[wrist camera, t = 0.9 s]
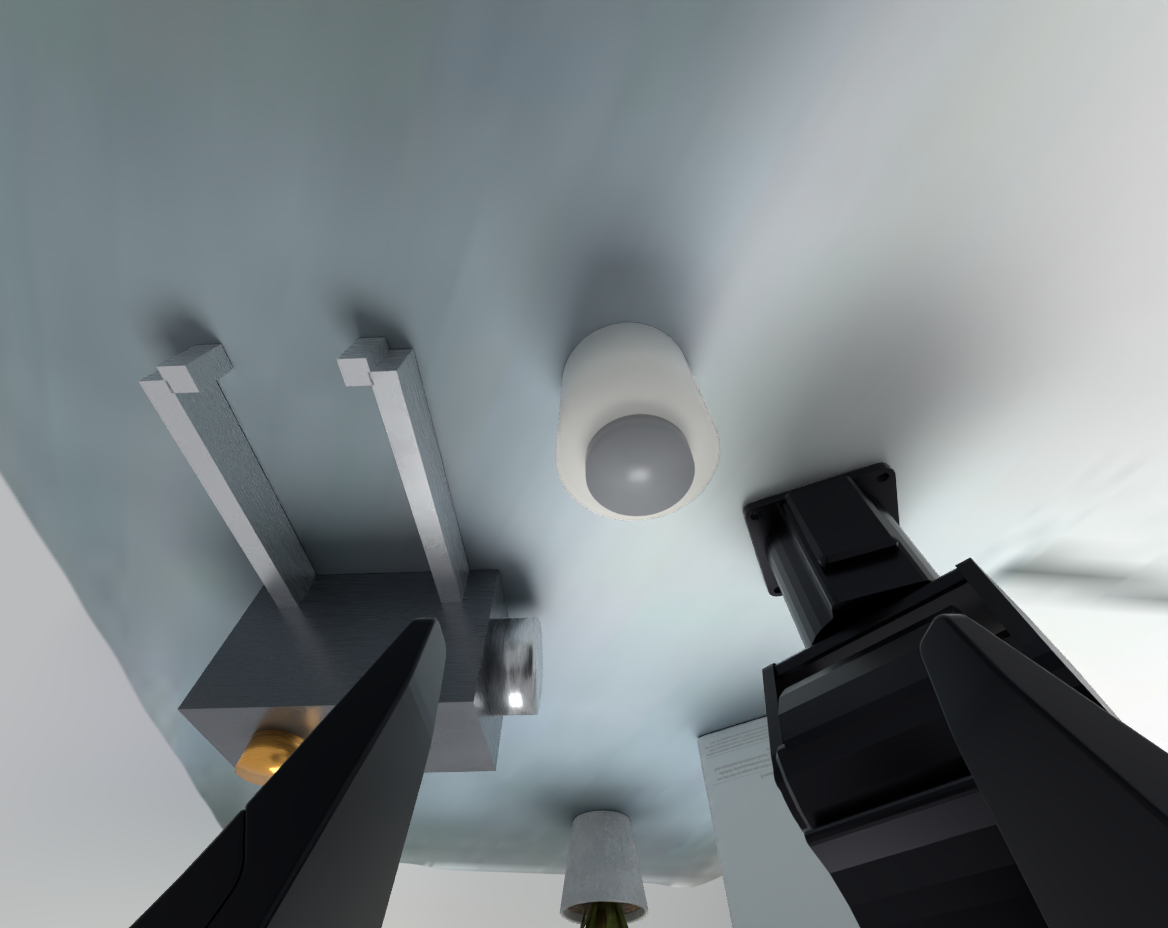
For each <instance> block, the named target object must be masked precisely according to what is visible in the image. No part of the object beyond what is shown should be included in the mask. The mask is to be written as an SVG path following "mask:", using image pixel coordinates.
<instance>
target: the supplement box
mask: <svg viewBox="0 0 1168 928" xmlns="http://www.w3.org/2000/svg"><path fill="white" fill-rule="evenodd" d="M697 743H698V749H699V754H700V759H701V765H702V770H703V776H704V781H705V786H706V791H707V796H708V801H709V807H710V812H711V817H712V823H713V828H714V833H715V838H716V844H717V849H718V854H719V859H720V864H721V869H722V875H723V880H724V885H725V890H726V896H727V900H728V906H729V911H730V917H731V922H732V927H733V928H860V927H859V925H858V923H857V921H856V919H855V917H854V915H853V913H852V911H851V909H850V907H849V905H848V904H847V902H846V900H845V899H844V897H843V895H842V894H841V892H840V890H839V889H838V887H837V885H836V884H835V882H834V880H833V879H832V877H831V875H830V874H829V872H828V871H827V869H826V868H825V867H824V865H823V864H822V863H821V861H820V860H819V859H818V857H817V856H816V855H815V853H814V852H813V851H812V849H811V848H810V847H809V845H808V844H807V842H806V839H805V836H804V833H803V831H802V830H801V829H800V827H799V825H798V824H797V822H796V821H795V819H794V817H793V816H792V814H791V812H790V810H789V808H788V806H787V804H786V802H785V800H784V798H783V796H782V793H781V791H780V790H779V788H778V787H777V785H776V783H775V780H774V774H773V765H772V760H771V753H770V743H769V733H768V723H767V717H763V718H760V719H757V720H753V721H750V722H747V723H743V724H740V725H736V726H733V727H730V728H727V729H724V730H721V731H718V732H714V733H710V734H707V735H705V736H702V737H699V738H698V740H697Z"/></svg>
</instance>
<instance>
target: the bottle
mask: <svg viewBox="0 0 1168 928" xmlns="http://www.w3.org/2000/svg"><path fill="white" fill-rule="evenodd" d="M719 454H720V443H719V437H718V433H717V430H716V428H715V425H714V423H713V420H712V418H711V416H710V414H709V411H708V409H707V407H706V404H705V402H704V400H703V398H702V395H701V393H700V391H699V388H698V386H697V384H696V382H695V379H694V377H693V375H692V372H691V370H690V368H689V366H688V363H687V361H686V359H685V356H684V354H683V352H682V351H681V349H680V348H679V346H678V345H677V344H676V343H675V341H674V340H673V339H671V338H670V337H669V336H668V335H667V334H665V333H664V332H662V331H660V330H658V329H656V328H654V327H652V326H648V325H645V324H640V323H629V322H627V323H617V324H612V325H608V326H605V327H603V328H600V329H598V330H596V331H594V332H592V333H591V334H589V335H588V336H587V337H585V338H584V339H583V340H582V341H581V342H580V343H579V344H578V345H577V346H576V347H575V348H574V350H573V351H572V353H571V354H570V356H569V358H568V360H567V362H566V364H565V367H564V370H563V376H562V387H561V399H560V412H559V424H558V437H557V450H556V463H557V470H558V473H559V477H560V479H561V481H562V483H563V485H564V487H565V488H566V490H567V491H568V493H569V494H570V495H571V496H572V497H573V498H574V499H575V500H576V501H577V502H578V503H580V504H581V505H582V506H584V507H585V508H587V509H588V510H590V511H592V512H594V513H596V514H599V515H602V516H605V517H608V518H612V519H618V520H627V521H638V520H648V519H654V518H658V517H661V516H664V515H667V514H670V513H672V512H674V511H676V510H678V509H681V508H682V507H684V506H685V505H687V504H689V503H690V502H691V501H692V500H694V499H695V498H696V497H697V496H698V495H699V494H700V493H701V492H702V491H703V490H704V489H705V488H706V486H707V485H708V484H709V482H710V480H711V479H712V477H713V475H714V473H715V470H716V468H717V465H718V461H719Z"/></svg>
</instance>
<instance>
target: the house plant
mask: <svg viewBox="0 0 1168 928" xmlns="http://www.w3.org/2000/svg"><path fill="white" fill-rule="evenodd" d="M560 914H561V916H562V917H563V918H564V919H565V920H568V921H570V922H573V923H577V924H581V927H580V928H584V927H585V925H586V927H585V928H628V925H627V924H629V923H633V922H636V921H639V920H641V919H643V918H645V917H646V916H647V915H648V907H647V902H646V897H645V892H644V887H643V882H642V877H641V872H640V867H639V862H638V857H637V852H636V848H635V843H634V838H633V833H632V828H631V823H630V819H629V818H628V817H627V816H625V815H624V814H621V813H618V812H614V811H591V812H587V813H583V814H581V815H579V816H577V817H576V818H575V819H574V821H573V826H572V833H571V840H570V846H569V853H568V860H567V867H566V874H565V881H564V888H563V895H562V901H561V909H560Z"/></svg>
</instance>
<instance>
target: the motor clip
mask: <svg viewBox="0 0 1168 928" xmlns="http://www.w3.org/2000/svg"><path fill="white" fill-rule="evenodd" d="M337 362H338V365H339V368H340V370H341V373H342V376H343V379H344V382H345V385H346V386H367V385H372V388H373V391H374V394H375V397H376V400H377V404H378V407H379V410H380V413H381V416H382V419H383V422H384V425H385V429H386V432H387V435H388V438H389V441H390V444H391V447H392V450H393V454H394V457H395V460H396V463H397V466H398V469H399V472H400V475H401V479H402V482H403V485H404V488H405V491H406V494H407V497H408V500H409V504H410V507H411V510H412V513H413V516H414V519H415V522H416V525H417V529H418V532H419V535H420V538H421V541H422V544H423V547H424V550H425V553H426V557H427V560H428V563H429V566H430V569H431V572H410V573H379V574H347V575H316V573H315V571H314V569H313V567H312V565H311V563H310V561H309V559H308V557H307V555H306V554H305V552H304V550H303V548H302V546H301V544H300V542H299V540H298V538H297V536H296V534H295V532H294V530H293V528H292V526H291V525H290V523H289V521H288V519H287V517H286V515H285V513H284V511H283V509H282V507H281V505H280V503H279V501H278V499H277V498H276V496H275V494H274V492H273V490H272V488H271V486H270V484H269V482H268V480H267V478H266V476H265V474H264V472H263V470H262V469H261V467H260V465H259V463H258V461H257V459H256V457H255V455H254V453H253V451H252V449H251V447H250V445H249V443H248V442H247V440H246V438H245V436H244V434H243V432H242V430H241V428H240V426H239V424H238V422H237V420H236V418H235V416H234V414H233V413H232V411H231V409H230V407H229V405H228V403H227V401H226V399H225V397H224V395H223V393H222V391H221V389H220V387H219V386H218V384H217V382H216V381H217V380H218V379H219V378H221V377H222V376H224V375H225V374H227V373H228V372H230V371H231V370H232V369H233V367H232V365H231V363H230V361H229V359H228V357H227V355H226V353H225V351H224V349H223V347H222V345H221V344H207V345H194V346H192V347H190V348H189V349H187V350H185V351H183V352H182V353H180V354H178V355H176V356H174V357H173V358H171V359H169V360H167V361H165V362H164V363H162V364H160V365H158V366H157V369H158V370H157V371H156V372H154V373H152V374H150V375H149V376H147V377H145V378H143V379H142V380H140V381H139V383H140V384H141V386H142V388H143V389H144V391H145V393H146V394H147V396H148V397H149V399H150V401H151V402H152V404H153V406H154V407H155V409H156V410H157V412H158V414H159V415H160V417H161V418H162V420H163V422H164V423H165V425H166V427H167V428H168V430H169V431H170V433H171V435H172V436H173V438H174V440H175V441H176V443H177V444H178V446H179V448H180V449H181V451H182V452H183V454H184V456H185V457H186V459H187V461H188V462H189V464H190V465H191V467H192V469H193V470H194V472H195V474H196V475H197V477H198V478H199V480H200V482H201V483H202V485H203V486H204V488H205V490H206V491H207V493H208V495H209V496H210V498H211V499H212V501H213V503H214V504H215V506H216V508H217V509H218V511H219V512H220V514H221V516H222V517H223V519H224V520H225V522H226V524H227V525H228V527H229V529H230V530H231V532H232V533H233V535H234V537H235V538H236V540H237V542H238V543H239V545H240V546H241V548H242V550H243V551H244V553H245V554H246V556H247V558H248V559H249V561H250V563H251V564H252V566H253V567H254V569H255V571H256V572H257V574H258V576H259V577H260V579H261V580H262V582H263V584H264V586H263V587H262V589H261V590H260V591H259V593H258V594H257V596H256V597H255V599H254V600H253V602H252V603H251V604H250V606H249V607H248V609H247V610H246V612H245V613H244V614H243V616H242V617H241V619H240V620H239V622H238V623H237V625H236V626H235V627H234V629H233V630H232V632H231V633H230V635H229V636H228V637H227V639H226V640H225V642H224V643H223V645H222V646H221V648H220V649H219V650H218V652H217V653H216V655H215V656H214V658H213V659H212V661H211V662H210V663H209V665H208V666H207V668H206V669H205V671H204V672H203V673H202V675H201V676H200V678H199V679H198V681H197V682H196V684H195V685H194V686H193V688H192V689H191V691H190V692H189V694H188V695H187V696H186V698H185V699H184V701H183V702H182V704H181V705H180V707H179V708H178V710H179V711H180V712H181V713H182V714H183V715H184V716H185V717H186V718H187V719H188V721H189V722H190V723H191V724H192V725H193V726H194V727H195V728H196V729H197V730H198V731H199V732H200V733H201V734H202V735H203V736H204V737H205V738H206V739H207V740H208V741H209V742H210V743H211V744H212V745H213V746H214V747H215V748H216V749H217V750H218V751H219V752H220V753H221V754H222V755H223V756H224V757H225V758H226V759H227V760H228V761H229V762H230V763H231V764H232V765H233V766H234V767H235V772H236V774H237V775H238V776H240V777H241V778H243V779H244V780H246V781H249V782H251V783H254V784H258V785H262V786H263V785H264V784H265V783H266V782H267V781H268V780H269V779H270V778H271V777H272V775H273V774H274V773H275V772H276V771H277V770H278V769H279V768H280V767H281V765H282V764H283V763H284V762H285V761H286V760H287V759H288V758H289V757H290V755H291V754H292V753H293V752H294V751H295V750H296V749H297V748H298V747H299V745H300V744H301V743H302V742H303V741H304V740H305V739H306V738H307V736H308V735H309V734H310V733H311V732H312V731H313V730H314V729H315V728H316V726H317V725H318V724H319V723H320V722H321V721H322V720H323V719H324V718H325V716H326V715H327V714H328V713H329V712H330V711H331V710H332V709H333V708H334V706H335V705H336V704H337V703H338V702H339V701H340V700H341V699H342V698H343V696H344V695H345V694H346V693H347V692H348V691H349V690H350V689H351V688H352V686H353V685H354V684H355V683H356V682H357V681H358V680H359V679H360V678H361V676H362V675H363V674H364V673H365V672H366V671H367V670H368V669H369V668H370V666H371V665H372V664H373V663H374V662H375V661H376V660H377V659H378V658H379V656H380V655H381V654H382V653H383V652H384V651H385V650H386V649H387V648H388V646H389V645H390V644H391V643H392V642H393V641H394V640H395V639H396V638H397V636H398V635H399V634H400V633H401V632H402V631H403V630H404V629H405V628H406V626H407V625H408V624H409V623H410V622H411V621H412V620H414V619H415V618H436V619H437V620H438V621H439V624H440V627H441V631H442V634H443V637H444V641H445V644H446V659H445V665H444V672H443V678H442V684H441V690H440V696H439V702H438V708H437V714H436V721H435V727H434V732H433V738H432V743H431V747H430V751H429V755H428V759H427V763H426V766H425V770H424V772H468V771H496V764H497V756H498V749H499V741H500V734H501V727H502V719H503V715H537V714H538V711H539V707H540V701H541V691H542V670H543V653H542V633H541V625H540V621H539V618H538V617H533V618H508V614H507V609H506V604H505V599H504V594H503V589H502V585H501V580H500V575H499V570H473V571H470V570H469V566H468V562H467V559H466V555H465V551H464V547H463V543H462V539H461V535H460V531H459V527H458V523H457V519H456V515H455V511H454V507H453V504H452V500H451V496H450V492H449V488H448V484H447V480H446V476H445V472H444V468H443V464H442V460H441V456H440V452H439V449H438V445H437V441H436V437H435V433H434V429H433V425H432V421H431V417H430V413H429V409H428V405H427V401H426V397H425V394H424V390H423V386H422V382H421V378H420V374H419V370H418V366H417V362H416V358H415V354H414V350H413V349H397V350H389V347H388V343H387V340H386V337H372V338H359V339H357V340H356V341H355V342H354V343H353V344H352V345H351V346H350V347H349V348H348V349H347V350H346V351H345V352H344V353H343V354H342V355H341V356H340V357H338V358H337Z"/></svg>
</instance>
